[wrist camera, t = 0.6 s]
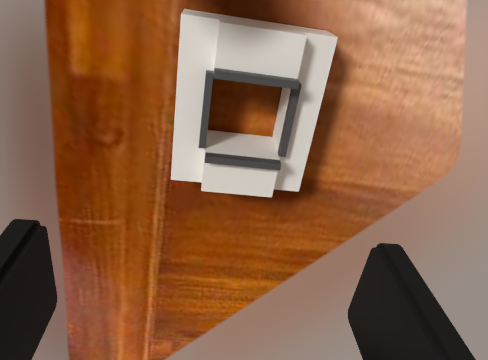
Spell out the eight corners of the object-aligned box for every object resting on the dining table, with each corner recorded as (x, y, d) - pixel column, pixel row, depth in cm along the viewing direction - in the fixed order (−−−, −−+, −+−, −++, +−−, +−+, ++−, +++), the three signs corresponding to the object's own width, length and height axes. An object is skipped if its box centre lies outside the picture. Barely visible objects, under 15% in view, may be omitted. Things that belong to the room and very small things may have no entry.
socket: (184, 8, 31) (178, 17, 26) (326, 30, 32) (346, 42, 27) (174, 162, 37) (168, 192, 32) (292, 173, 39) (303, 204, 34)
